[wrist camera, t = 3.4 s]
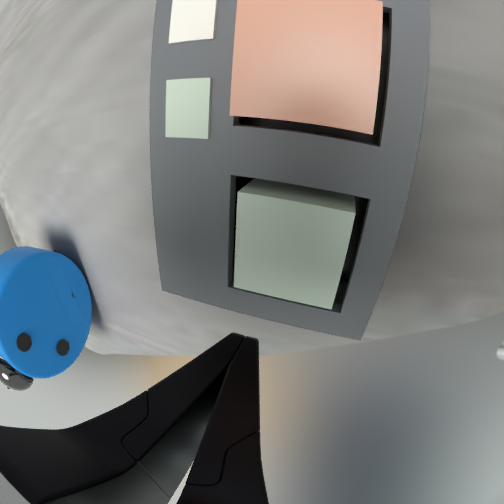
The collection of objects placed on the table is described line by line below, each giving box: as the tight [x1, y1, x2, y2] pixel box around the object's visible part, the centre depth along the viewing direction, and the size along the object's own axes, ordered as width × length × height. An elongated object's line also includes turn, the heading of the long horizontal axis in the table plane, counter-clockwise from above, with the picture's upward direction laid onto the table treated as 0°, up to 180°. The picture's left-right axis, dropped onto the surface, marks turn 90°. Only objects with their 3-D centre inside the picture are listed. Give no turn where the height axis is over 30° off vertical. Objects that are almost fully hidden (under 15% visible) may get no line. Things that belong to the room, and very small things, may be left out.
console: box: [150, 0, 429, 340], centre depth 12 cm, size 13×28×4 cm, turn 176°
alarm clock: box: [0, 246, 92, 391], centre depth 23 cm, size 13×6×15 cm, turn 3°
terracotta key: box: [229, 0, 383, 135], centre depth 10 cm, size 5×5×4 cm
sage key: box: [234, 178, 356, 310], centre depth 16 cm, size 5×5×4 cm
